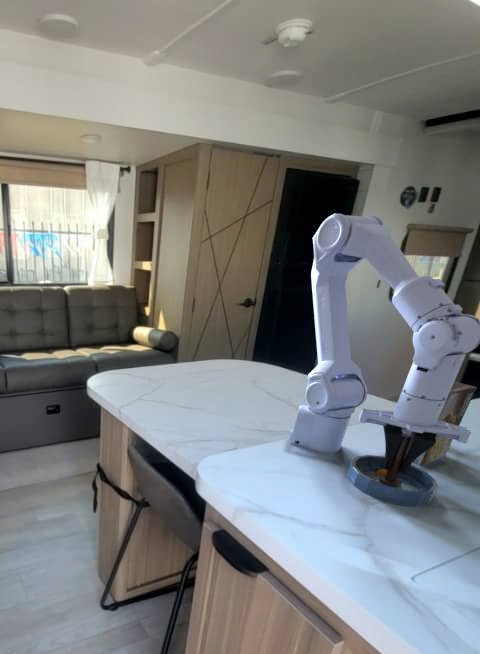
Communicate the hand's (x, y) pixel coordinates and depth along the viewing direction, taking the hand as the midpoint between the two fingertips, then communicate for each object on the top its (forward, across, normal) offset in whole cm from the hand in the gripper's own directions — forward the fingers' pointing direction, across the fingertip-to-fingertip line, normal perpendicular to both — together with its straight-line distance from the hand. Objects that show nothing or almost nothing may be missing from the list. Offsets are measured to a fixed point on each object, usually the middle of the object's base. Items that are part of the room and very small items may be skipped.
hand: (393, 468), depth 70 cm
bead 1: (+3, -2, -3) cm, 4 cm away
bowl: (+4, 0, -1) cm, 4 cm away
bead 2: (+3, -1, +2) cm, 4 cm away
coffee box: (+4, +6, +16) cm, 17 cm away
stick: (+3, 0, 0) cm, 3 cm away
